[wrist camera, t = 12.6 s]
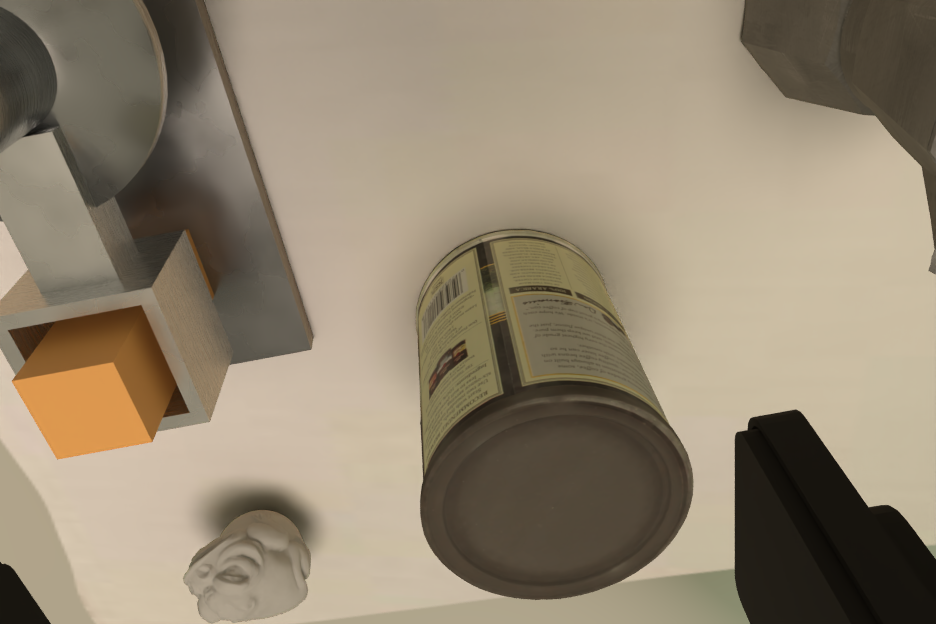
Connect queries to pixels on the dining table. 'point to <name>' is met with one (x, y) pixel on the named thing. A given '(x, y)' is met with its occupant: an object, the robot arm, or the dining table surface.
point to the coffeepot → (856, 64)
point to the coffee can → (539, 425)
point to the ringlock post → (138, 190)
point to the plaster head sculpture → (250, 569)
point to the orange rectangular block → (98, 381)
